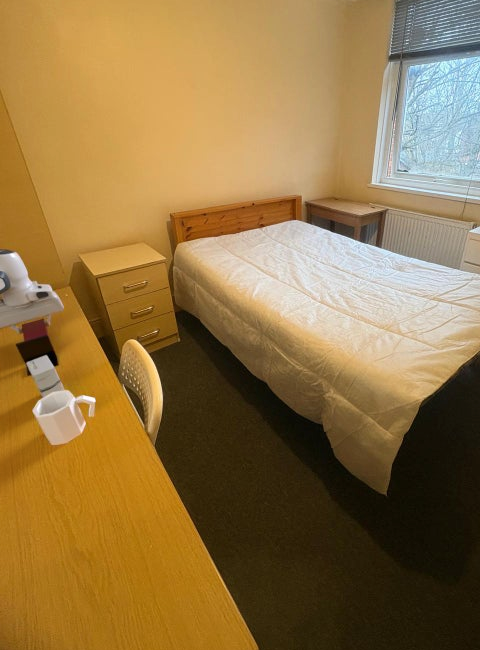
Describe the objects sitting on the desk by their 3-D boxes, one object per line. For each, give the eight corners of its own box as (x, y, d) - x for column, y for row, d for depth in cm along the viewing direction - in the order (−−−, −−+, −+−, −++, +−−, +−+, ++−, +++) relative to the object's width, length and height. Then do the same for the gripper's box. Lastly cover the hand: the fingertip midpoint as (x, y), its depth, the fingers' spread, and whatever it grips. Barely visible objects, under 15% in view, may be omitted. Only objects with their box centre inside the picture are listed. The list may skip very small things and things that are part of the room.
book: (24, 330, 115) (21, 324, 113) (46, 324, 118) (43, 318, 116) (29, 359, 105) (26, 353, 103) (53, 351, 109) (50, 345, 107)
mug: (46, 451, 76) (31, 423, 72) (47, 426, 83) (33, 398, 78) (103, 427, 82) (92, 400, 78) (100, 405, 89) (89, 379, 84)
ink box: (69, 399, 90) (55, 367, 85) (49, 410, 87) (32, 377, 81) (60, 384, 95) (46, 353, 90) (40, 393, 92) (24, 362, 87)
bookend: (26, 366, 102) (15, 343, 98) (57, 356, 107) (47, 334, 102) (27, 376, 98) (15, 353, 94) (58, 365, 103) (48, 342, 99)
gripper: (-23, 309, 99) (-4, 344, 105) (56, 289, 110) (69, 323, 117) (-22, 301, 103) (-4, 335, 110) (54, 283, 115) (67, 315, 121)
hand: (35, 329), depth 113 cm, fingers closed on book, 6 cm apart
